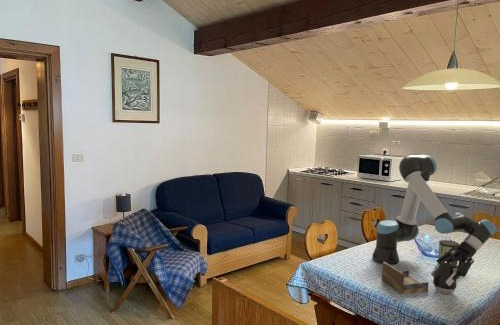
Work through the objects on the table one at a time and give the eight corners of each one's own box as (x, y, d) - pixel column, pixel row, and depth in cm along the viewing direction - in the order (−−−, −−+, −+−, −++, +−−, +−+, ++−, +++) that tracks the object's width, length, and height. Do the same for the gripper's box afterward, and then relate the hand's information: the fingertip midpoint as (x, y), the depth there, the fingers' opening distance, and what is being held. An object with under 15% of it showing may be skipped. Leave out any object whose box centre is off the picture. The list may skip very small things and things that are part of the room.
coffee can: (454, 264, 223) (455, 240, 222) (459, 270, 213) (462, 246, 212) (435, 262, 225) (436, 239, 224) (440, 268, 215) (442, 244, 214)
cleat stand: (407, 278, 201) (408, 260, 200) (427, 291, 185) (429, 271, 184) (381, 280, 197) (382, 261, 196) (400, 294, 182) (401, 274, 181)
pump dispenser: (455, 298, 178) (458, 267, 177) (431, 293, 184) (433, 262, 182) (457, 290, 187) (459, 261, 185) (433, 285, 192) (435, 256, 191)
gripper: (492, 259, 176) (461, 294, 174) (456, 244, 198) (428, 275, 196) (484, 248, 174) (452, 284, 172) (448, 234, 196) (420, 266, 194)
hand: (439, 279), depth 184 cm, fingers closed on pump dispenser, 9 cm apart
